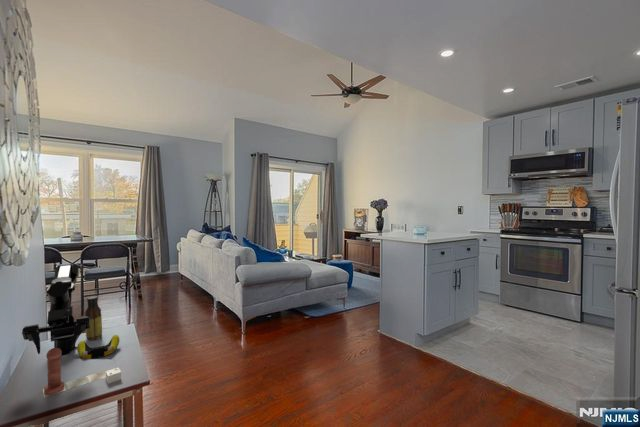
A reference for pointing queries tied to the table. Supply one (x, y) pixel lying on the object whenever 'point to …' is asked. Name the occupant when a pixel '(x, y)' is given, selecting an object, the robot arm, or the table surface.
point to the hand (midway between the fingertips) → (56, 350)
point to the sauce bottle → (94, 319)
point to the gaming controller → (97, 349)
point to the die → (113, 375)
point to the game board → (82, 381)
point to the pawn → (54, 372)
